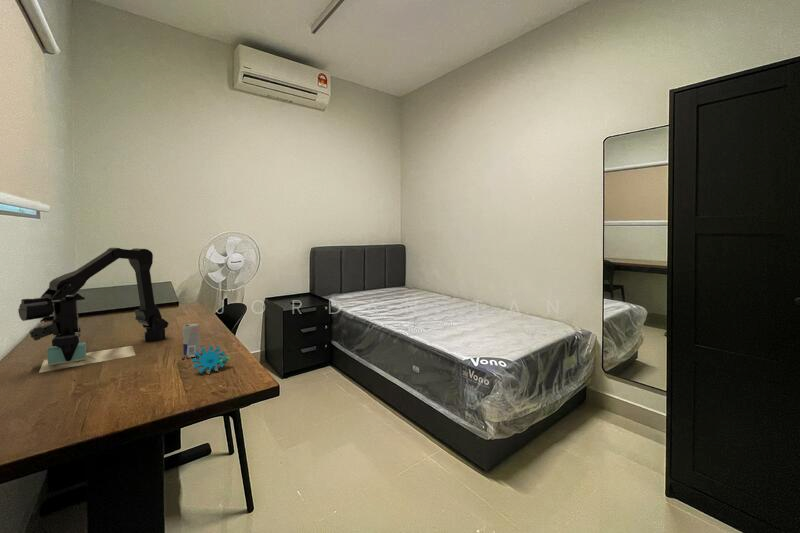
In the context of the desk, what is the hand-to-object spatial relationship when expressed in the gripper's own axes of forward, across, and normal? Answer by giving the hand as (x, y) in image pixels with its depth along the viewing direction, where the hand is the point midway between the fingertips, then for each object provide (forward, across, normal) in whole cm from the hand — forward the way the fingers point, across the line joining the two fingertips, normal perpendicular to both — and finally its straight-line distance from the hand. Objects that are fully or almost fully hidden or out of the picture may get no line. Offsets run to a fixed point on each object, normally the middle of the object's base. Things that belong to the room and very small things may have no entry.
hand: (68, 358), depth 114 cm
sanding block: (+1, 0, 0) cm, 1 cm away
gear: (+2, +36, +36) cm, 51 cm away
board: (+2, 0, +6) cm, 6 cm away
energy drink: (+2, +17, +34) cm, 38 cm away
